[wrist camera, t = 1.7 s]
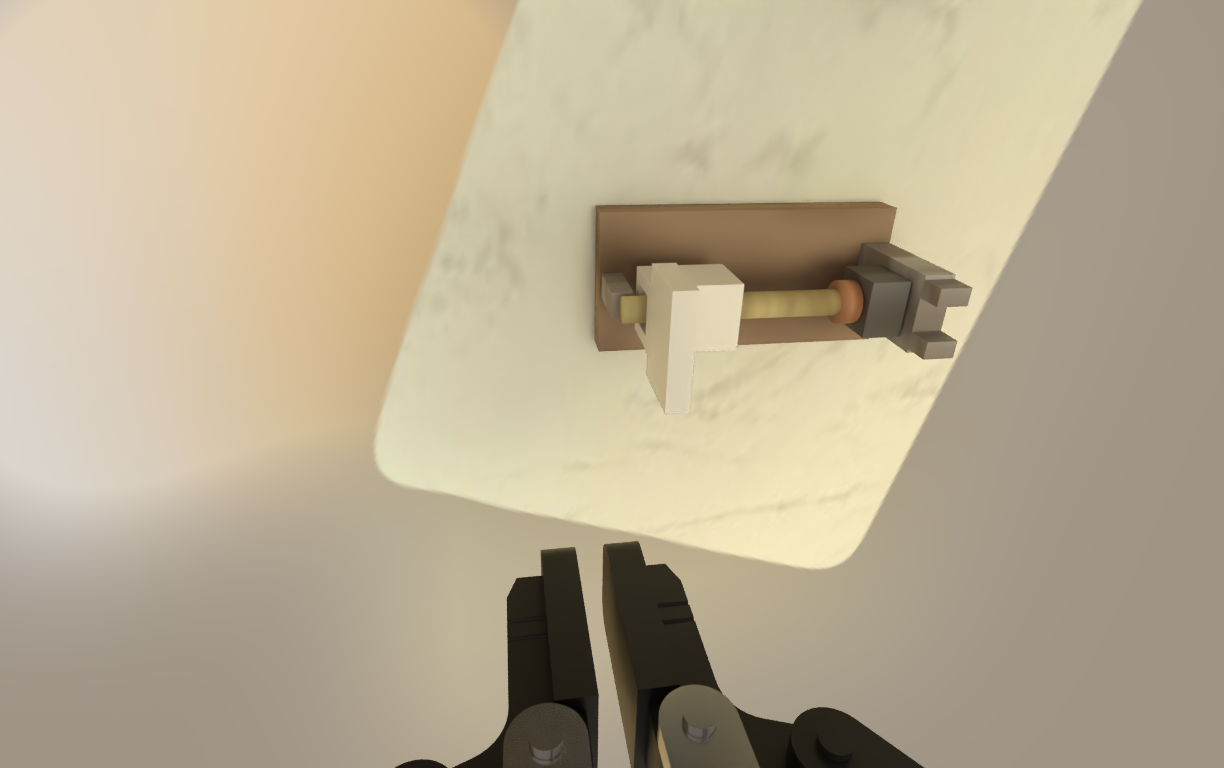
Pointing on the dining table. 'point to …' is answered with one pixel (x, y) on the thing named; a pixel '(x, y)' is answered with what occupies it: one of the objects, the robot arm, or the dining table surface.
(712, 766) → the robot arm
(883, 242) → the linear actuator
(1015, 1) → the dining table surface
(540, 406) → the dining table surface
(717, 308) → the cream stepped block
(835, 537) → the dining table surface
